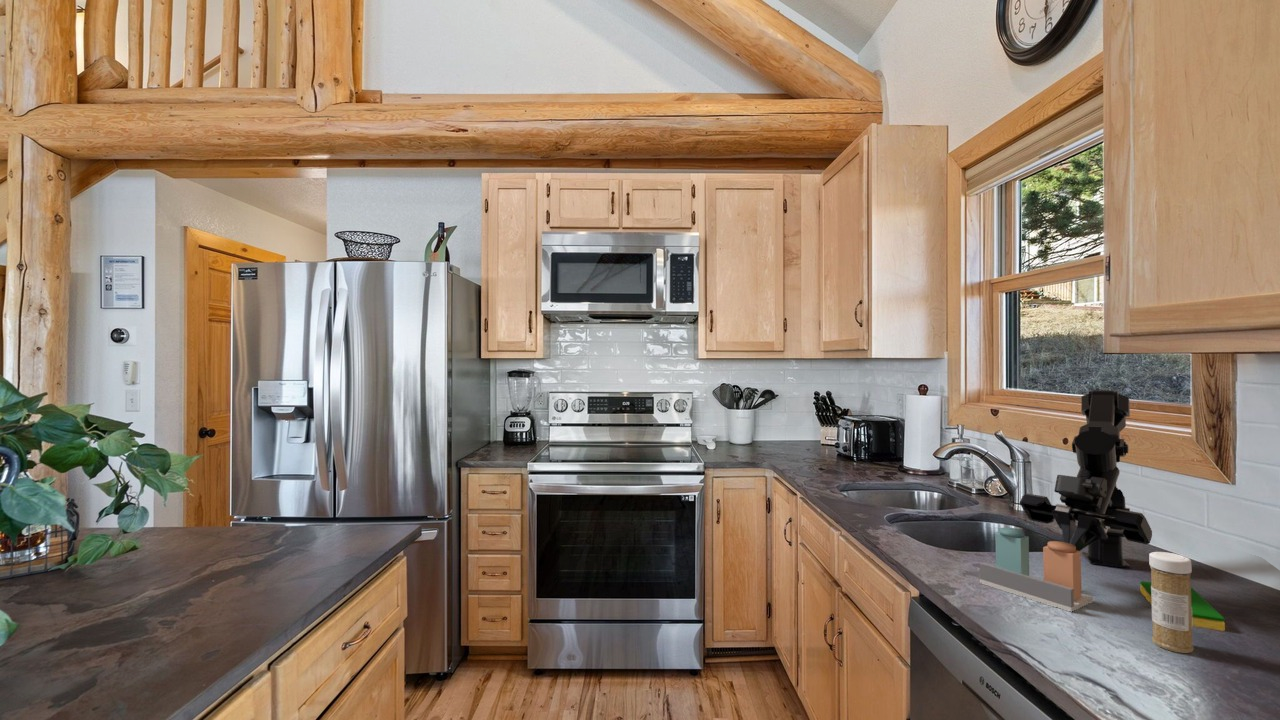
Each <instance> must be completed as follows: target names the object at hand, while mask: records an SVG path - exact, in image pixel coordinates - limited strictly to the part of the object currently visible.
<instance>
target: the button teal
mask: <svg viewBox="0 0 1280 720" xmlns="http://www.w3.org/2000/svg"><path fill="white" fill-rule="evenodd" d="M994 536H995V538H994V539H995V566H997V567H1000V568H1004V569H1007V570H1011V571H1014V572H1018V573H1021V574H1025V575H1028V576H1030V544H1029V542H1030V541H1029V540H1030V539H1029V537H1030V536H1028V535H1025V531H1024V530H1022V529H1018V528H1015V527H1014V528H1012V527H1000V528H999V531H998V532H995V533H994Z"/></svg>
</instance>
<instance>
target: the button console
mask: <svg viewBox="0 0 1280 720" xmlns="http://www.w3.org/2000/svg"><path fill="white" fill-rule="evenodd" d="M978 568H979V584H982V585H986V586H987V587H991V588H993V589H994V588H995V589H998V590H999V591H1004V592H1007V593H1010V594H1012V593H1013V594H1012V595H1015V596H1016V595H1017V596H1019V597H1022V596H1023V597H1022V598H1025V597H1026V598H1025V599H1028V600H1031V599H1032V601H1034V602H1037V601H1038V603H1040V602H1041V604H1044V605H1048V606H1050V605H1051V607H1053V606H1054V608H1056V607H1058V608H1057V609H1059V608H1061V609H1060V610H1062V609H1064V610H1063V611H1065V610H1067V611H1066V612H1068V611H1071V612H1070V613H1073V612H1075V611H1076V610H1075V609H1077V610H1079V609H1081V608H1082V606H1083V607H1085V606H1087V605H1089V604H1091V603H1093V602H1094V597H1093V596H1090V595H1087V594H1084V593H1081V595H1082V597H1080V598H1078V599H1076V600H1074V589H1073V588H1070V587H1066V586H1063V585H1059V584H1056V583H1052V582H1049V581H1045V580H1044V579H1042V578H1038V577H1034V576H1032V575H1029V576H1028V575H1025V574H1021V573H1018V572H1014V571H1011V570H1007V569H1004V568H1000V567H997V566H996V565H993V564H990V563H986V562H980V563H979V567H978ZM1090 602H1091V603H1090ZM1088 603H1089V604H1088ZM1086 604H1087V605H1086ZM1084 605H1085V606H1084ZM1080 607H1081V608H1080ZM1078 608H1079V609H1078ZM1074 610H1075V611H1074ZM1072 611H1073V612H1072Z"/></svg>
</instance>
